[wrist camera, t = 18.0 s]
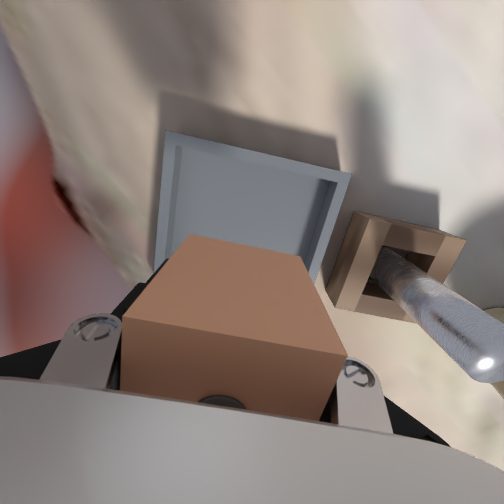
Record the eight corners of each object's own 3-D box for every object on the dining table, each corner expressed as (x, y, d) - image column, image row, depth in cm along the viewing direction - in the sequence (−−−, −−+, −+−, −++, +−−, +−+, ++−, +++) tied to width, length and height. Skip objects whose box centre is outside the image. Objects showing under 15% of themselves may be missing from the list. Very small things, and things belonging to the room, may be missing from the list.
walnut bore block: (401, 305, 25) (420, 324, 22) (325, 290, 24) (334, 307, 21) (439, 229, 22) (466, 240, 19) (354, 211, 22) (369, 218, 19)
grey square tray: (295, 310, 25) (300, 325, 23) (160, 284, 24) (151, 297, 22) (341, 172, 20) (352, 173, 18) (175, 133, 19) (165, 130, 17)
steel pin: (388, 279, 24) (509, 387, 13) (358, 273, 24) (454, 377, 12) (401, 250, 23) (545, 340, 12) (370, 244, 23) (487, 329, 11)
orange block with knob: (273, 343, 13) (290, 489, 7) (177, 326, 13) (115, 466, 7) (300, 256, 11) (349, 359, 6) (189, 233, 11) (120, 319, 5)
